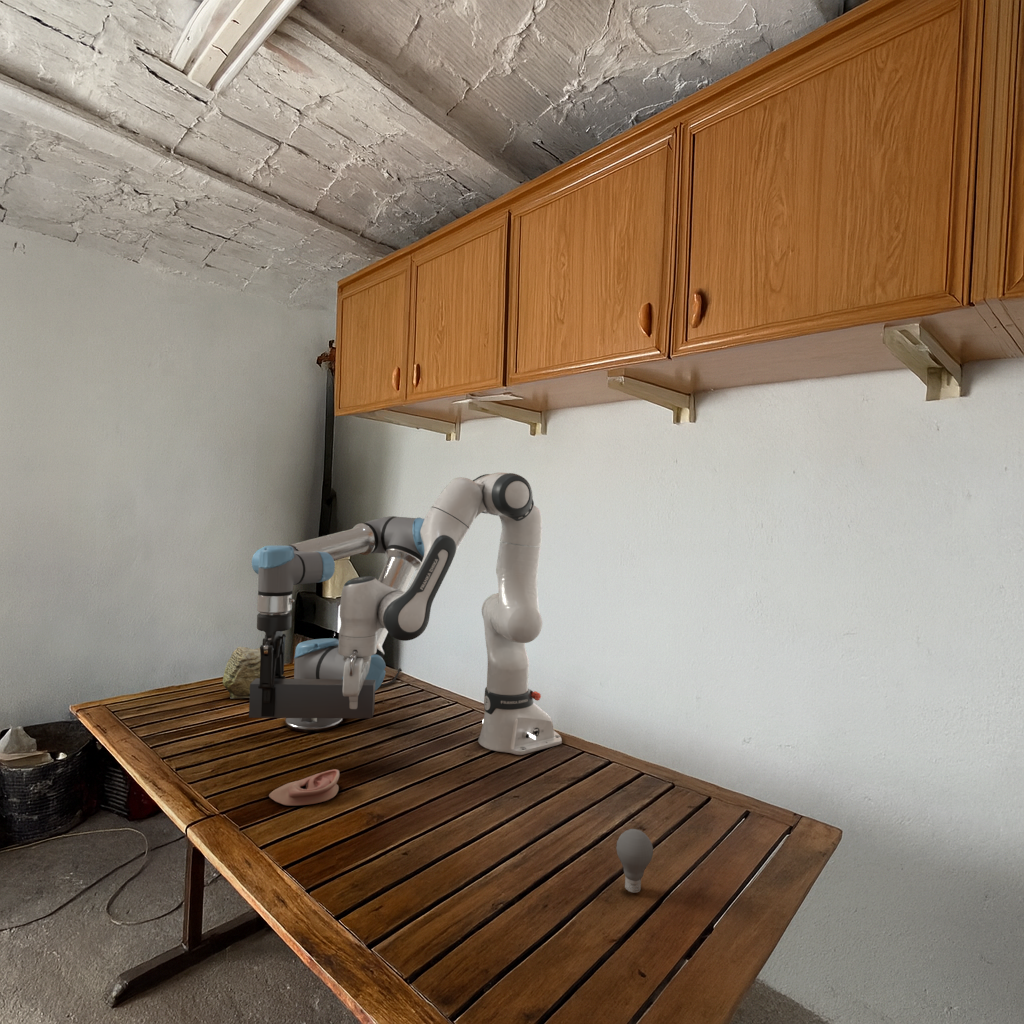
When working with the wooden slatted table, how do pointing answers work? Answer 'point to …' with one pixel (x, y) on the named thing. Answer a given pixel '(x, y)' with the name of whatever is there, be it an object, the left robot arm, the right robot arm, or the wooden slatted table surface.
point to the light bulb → (634, 857)
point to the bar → (313, 699)
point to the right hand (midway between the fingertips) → (355, 703)
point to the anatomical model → (308, 789)
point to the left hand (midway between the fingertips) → (270, 711)
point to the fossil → (242, 671)
